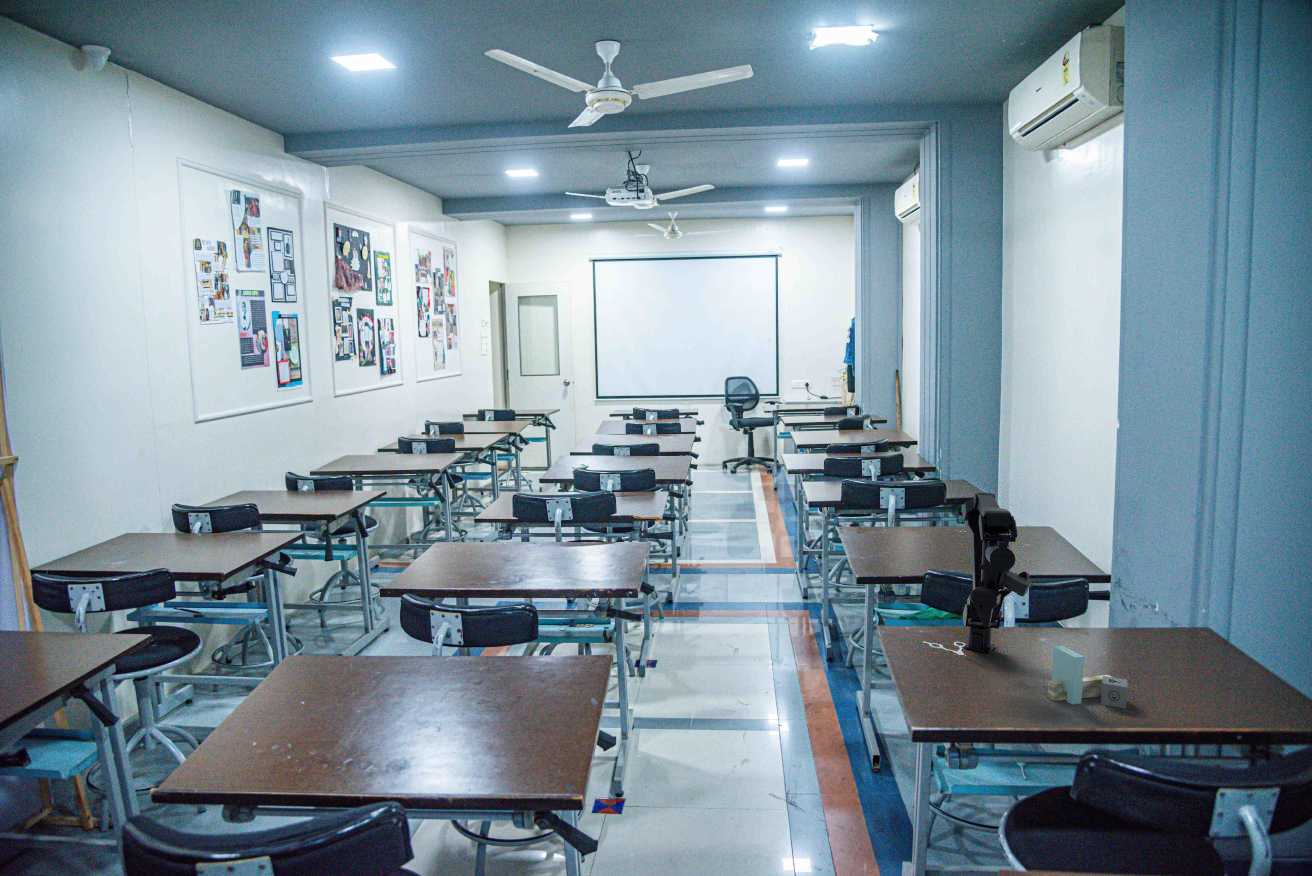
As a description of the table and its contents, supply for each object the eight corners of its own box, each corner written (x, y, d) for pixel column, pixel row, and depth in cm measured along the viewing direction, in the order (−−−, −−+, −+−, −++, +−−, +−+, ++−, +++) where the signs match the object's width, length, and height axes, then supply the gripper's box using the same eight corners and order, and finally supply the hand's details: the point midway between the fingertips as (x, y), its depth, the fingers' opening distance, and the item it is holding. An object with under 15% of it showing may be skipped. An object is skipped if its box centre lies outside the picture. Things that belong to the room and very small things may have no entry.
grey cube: (1101, 696, 199) (1102, 675, 199) (1125, 700, 197) (1127, 679, 196) (1100, 704, 195) (1102, 683, 194) (1126, 709, 192) (1127, 687, 192)
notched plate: (1051, 692, 201) (1053, 646, 200) (1060, 691, 202) (1062, 645, 200) (1071, 704, 194) (1074, 657, 193) (1081, 703, 195) (1084, 656, 194)
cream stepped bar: (1053, 701, 196) (1054, 684, 196) (1047, 697, 198) (1048, 680, 198) (1113, 694, 200) (1114, 677, 200) (1106, 691, 202) (1107, 674, 201)
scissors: (958, 639, 236) (999, 665, 216) (958, 642, 236) (999, 668, 217) (922, 641, 234) (960, 668, 215) (922, 644, 234) (960, 671, 215)
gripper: (1020, 574, 200) (1016, 639, 202) (1037, 557, 215) (1034, 618, 217) (970, 566, 207) (968, 630, 208) (991, 551, 222) (988, 610, 223)
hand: (991, 622), depth 214 cm, fingers open, 9 cm apart
